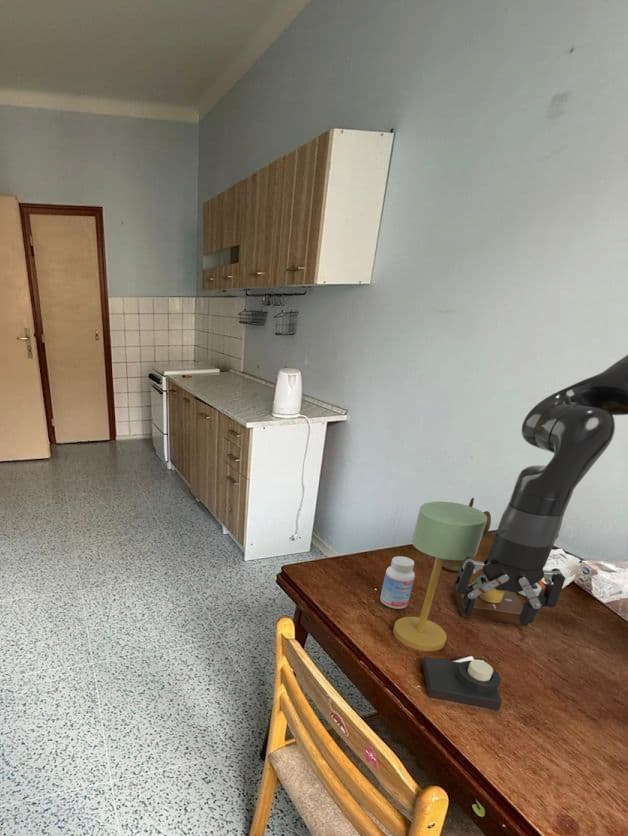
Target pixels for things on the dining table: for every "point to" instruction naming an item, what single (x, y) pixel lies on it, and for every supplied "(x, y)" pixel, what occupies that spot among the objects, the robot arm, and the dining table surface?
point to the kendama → (456, 564)
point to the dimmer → (494, 608)
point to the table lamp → (439, 562)
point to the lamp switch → (480, 670)
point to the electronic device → (536, 588)
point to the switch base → (460, 684)
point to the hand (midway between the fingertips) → (493, 618)
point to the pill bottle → (398, 583)
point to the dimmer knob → (492, 596)
